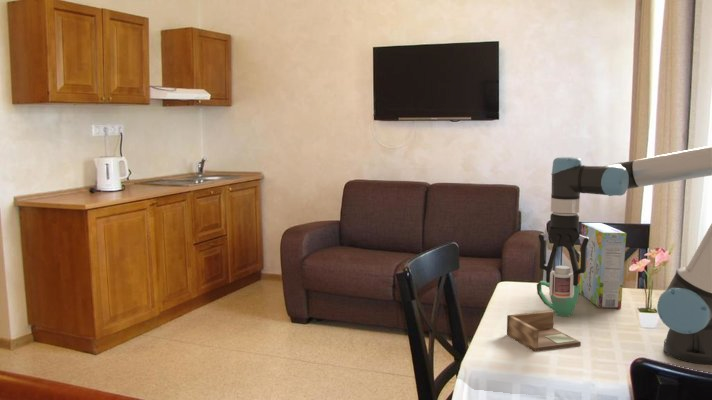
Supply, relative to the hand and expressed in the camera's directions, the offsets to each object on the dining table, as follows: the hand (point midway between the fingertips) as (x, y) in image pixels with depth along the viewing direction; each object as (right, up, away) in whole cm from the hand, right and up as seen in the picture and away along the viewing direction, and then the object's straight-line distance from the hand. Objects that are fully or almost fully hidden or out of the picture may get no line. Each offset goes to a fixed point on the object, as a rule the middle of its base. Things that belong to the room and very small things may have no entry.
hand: (561, 295), depth 180 cm
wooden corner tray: (-4, -13, +3) cm, 14 cm away
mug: (+8, -10, +29) cm, 32 cm away
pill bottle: (0, -1, 0) cm, 1 cm away
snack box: (+27, -8, +44) cm, 52 cm away
